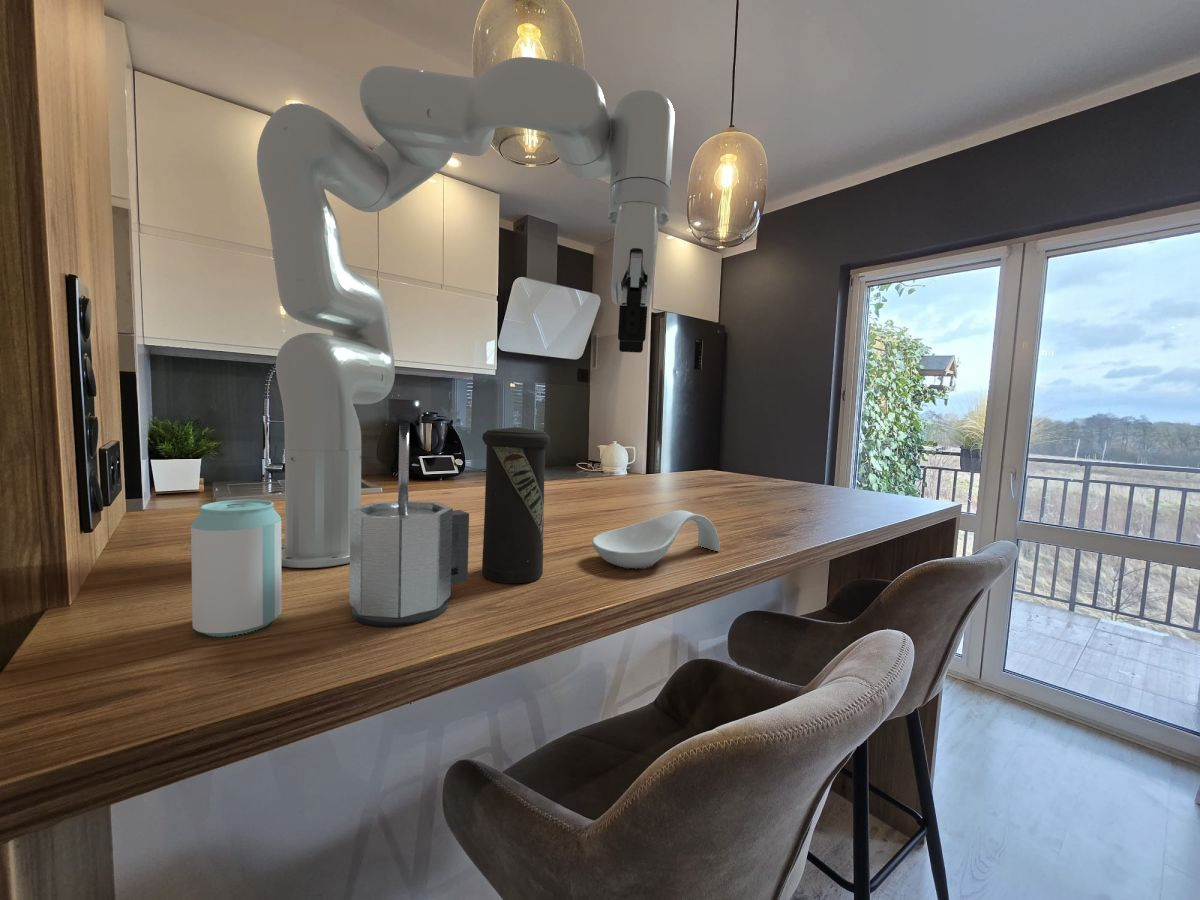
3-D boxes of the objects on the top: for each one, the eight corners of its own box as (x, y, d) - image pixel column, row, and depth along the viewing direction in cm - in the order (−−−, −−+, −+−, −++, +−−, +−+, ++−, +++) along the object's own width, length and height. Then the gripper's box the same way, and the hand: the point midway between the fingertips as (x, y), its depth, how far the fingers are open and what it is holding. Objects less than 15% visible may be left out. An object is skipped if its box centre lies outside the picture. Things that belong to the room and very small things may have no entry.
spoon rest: (624, 582, 67) (627, 529, 66) (576, 559, 76) (578, 513, 76) (736, 558, 81) (739, 515, 80) (684, 541, 90) (686, 503, 90)
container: (511, 590, 61) (516, 429, 60) (465, 573, 66) (469, 425, 65) (558, 574, 68) (563, 429, 66) (513, 560, 73) (517, 426, 72)
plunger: (359, 519, 54) (361, 398, 53) (421, 513, 58) (423, 401, 57) (380, 532, 49) (382, 398, 48) (446, 524, 53) (449, 401, 52)
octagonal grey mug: (340, 603, 55) (341, 505, 54) (444, 582, 63) (446, 497, 62) (368, 635, 47) (369, 522, 47) (482, 607, 55) (485, 510, 55)
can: (172, 634, 46) (170, 507, 45) (243, 606, 53) (242, 495, 52) (233, 645, 44) (232, 513, 44) (298, 615, 51) (298, 501, 50)
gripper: (610, 232, 70) (604, 354, 71) (605, 172, 53) (597, 334, 54) (663, 234, 70) (656, 356, 71) (676, 174, 52) (666, 337, 54)
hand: (631, 346), depth 62 cm, fingers open, 9 cm apart
